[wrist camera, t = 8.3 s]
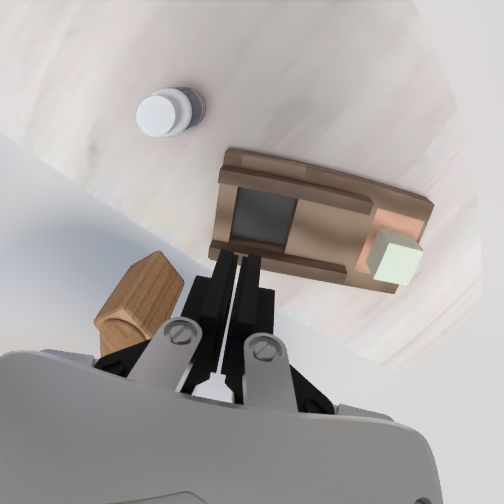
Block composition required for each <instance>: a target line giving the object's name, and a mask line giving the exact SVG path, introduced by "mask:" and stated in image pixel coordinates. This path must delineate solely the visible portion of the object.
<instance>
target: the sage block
mask: <svg viewBox="0 0 504 504" xmlns="http://www.w3.org/2000/svg"><path fill="white" fill-rule="evenodd" d="M423 253H424V251H423V249H422V248H421V247H420V245H419V244H418V243H417V241H416V240H415V239H414V237H413V236H411V235H407V234H404V233H400V232H396V231H392V230H389V229H385V228H381V227H379V229H378V232H377V235H376V237H375V240H374V242H373V245H372V247H371V250H370V252H369V254H368V257H367V259H366V263H367V266H368V268H369V270H370V273H371V275H372V277H373V279H375V280H380V281H385V282H390V283H395V284H400V285H405V286H407V285H408V284H409V282H410V280H411V278H412V276H413V274H414V272H415V270H416V268H417V266H418V264H419V262H420V259H421V257H422V255H423Z"/></svg>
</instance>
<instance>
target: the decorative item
mask: <svg viewBox="0 0 504 504" xmlns="http://www.w3.org/2000/svg"><path fill="white" fill-rule="evenodd" d="M183 286H184V280H183V279H182V277H181V276H180V275H179V274H178V272H177V271H176V270H175V269H174V267H173V266H172V265H171V263H170V262H169V261H168V260H167V258H166V257H165V256H164V254H163V253H162V252H161V251H156V252H154V253H152V254H150V255H149V256H147V257H146V258H144V259H142V260H140V261H138V262H137V263H135V264H133V265H132V266H130V268H129V269H128V271H127V272H126V274H125V275H124V276H123V278H122V279H121V281H120V282H119V284H118V285H117V286H116V288H115V289H114V291H113V292H112V294H111V295H110V297H109V298H108V300H107V301H106V303H105V304H104V306H103V307H102V309H101V310H100V312H99V313H98V315H97V316H96V318H95V320H94V325H95V327H96V328H97V329H98V330H99V331H100V350H101V357H103V356H105V355H108V354H110V353H113V352H116V351H119V350H122V349H124V348H127V347H130V346H132V345H135V344H138V343H141V342H143V341H146V340H149V339H151V338H153V337H154V335H155V334H156V332H157V331H158V329H159V328H160V326H161V325H162V324H163V323H164V322H165V321H166V320H168V319H170V317H171V314H172V312H173V310H174V307H175V305H176V302H177V300H178V298H179V296H180V293H181V291H182V289H183Z"/></svg>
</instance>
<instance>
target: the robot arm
mask: <svg viewBox="0 0 504 504" xmlns="http://www.w3.org/2000/svg"><path fill="white" fill-rule="evenodd" d="M238 257H239V255H235V254H234V251H233V250H228V249H223V248H221V250H220V253H219V256H218V259H217V263H216V266H215V269H214V272H213V275H212V278H207V277H203V276H198V275H197V276H196V278H195V280H194V282H193V285H192V288H191V290H190V293H189V295H188V298H187V301H186V303H185V305H184V308H183V311H182V313H181V316H180V317H174V318H170V319H168V320H166V321H165V322H164V323H163V324H162V325H161V326H160V328H159V329H158V331H157V332H156V334H155V335H154V337H153V338H151V339H149V340H146V341H143V342H141V343H138V344H135V345H132V346H130V347H127V348H124V349H122V350H119V351H116V352H113V353H110V354H108V355H105V356H103V357H101V358H100V359H95V358H94V356H93V355H85V354H78V353H71V352H64V351H57V350H51V349H46V350H42V351H40V352H38V351H23V350H21V351H13V352H9V353H6V354H4V355H3V356H1V357H0V504H443V500H442V492H441V486H440V481H439V476H438V471H437V467H436V463H435V459H434V456H433V454H432V451H431V448H430V446H429V444H428V442H427V440H426V439H425V438H424V437H423V436H422V435H421V434H420V433H419V432H417V431H416V430H414V429H412V428H410V427H408V426H405V425H402V424H399V423H396V422H394V420H393V419H392V418H390V417H389V416H387V415H384V414H380V413H376V412H371V411H367V410H363V409H359V408H354V407H351V406H347V405H343V404H339V405H338V406H336V405H333V404H332V403H331V401H329V399H328V398H327V397H326V396H325V395H323V394H322V393H321V392H320V391H319V390H318V389H317V388H316V387H314V386H313V385H312V384H311V383H310V382H309V381H308V380H307V379H305V378H304V377H303V376H302V375H301V374H300V373H299V372H298V371H297V370H296V369H295V368H293V367H292V366H291V365H290V364H289V360H288V355H287V349H286V347H285V344H284V343H283V342H282V341H281V340H280V339H279V338H278V337H276V336H274V335H273V326H274V301H275V291H274V290H271V289H265V288H260V287H259V277H260V268H261V258H262V256H259V255H254V254H249V255H248V257H246V256H243V258H242V263H241V268H240V273H239V278H238V283H237V288H236V293H235V298H234V303H233V308H232V313H231V318H230V323H229V328H228V334H227V340H226V345H225V351H224V357H223V363H222V369H221V374H224V375H226V379H225V384H226V385H227V386H228V387H229V388H230V389H231V390H232V403H228V402H222V401H217V400H212V399H207V398H202V397H197V396H195V393H196V391H197V388H198V384H200V383H202V382H204V381H206V380H208V379H209V378H210V373H211V372H213V373H216V371H217V366H218V361H219V357H220V352H221V347H222V342H223V337H224V333H225V328H226V323H227V318H228V313H229V308H230V303H231V297H232V291H233V286H234V280H235V274H236V268H237V263H238Z"/></svg>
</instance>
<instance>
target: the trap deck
mask: <svg viewBox="0 0 504 504" xmlns="http://www.w3.org/2000/svg"><path fill="white" fill-rule="evenodd" d="M218 183H220V189H219V196H218V203H217V210H216V218H215V225H214V233H213V240H212V242H211V244H210V247H209V254H208V258H210V260H215V261H217V259H218V256H219V253H220V250H221V248H223V249H228V250H233V251H234V254H235V255H239V257H238V263H237V265H240V266H241V263H242V258H243V256H246V257H248V255H249V254H254V255H259V256H262V258H261V268H260V269H261V270H266V271H271V272H276V273H281V274H287V275H292V276H297V277H303V278H308V279H313V280H319V281H324V282H330V283H335V284H340V285H346V286H351V287H357V288H363V289H368V290H374V291H379V292H385V293H391V294H395V292H396V290H397V288H398V286H399V284H395V283H390V282H385V281H380V280H375V279H373V277H372V275H371V273H370V270H369V268H368V266H367V263H366V259H367V257H368V254H369V252H370V250H371V247H372V245H373V242H374V240H375V237H376V235H377V232H378V229H379V227H381V228H385V229H389V230H392V231H396V232H400V233H404V234H407V235H411V236H413V237H414V239H415V240H416V241H417V243H418V244H419V241H420V239H421V237H422V234H423V232H424V230H425V227H426V225H427V222H428V220H429V218H430V215H431V212H432V210H433V207H434V204H433V203H432V202H431V201H430V200H428V199H427V198H426V197H423V196H420V195H417V194H414V193H411V192H408V191H405V190H401V189H398V188H395V187H392V186H389V185H385V184H382V183H379V182H375V181H372V180H368V179H365V178H361V177H358V176H354V175H350V174H347V173H343V172H339V171H335V170H331V169H327V168H323V167H319V166H315V165H311V164H306V163H302V162H298V161H293V160H289V159H284V158H279V157H274V156H269V155H264V154H259V153H254V152H249V151H243V150H238V149H232V148H228V149H227V151H226V152H225V156H224V163H223V166H222V167H221V169H220V172H219V179H218Z"/></svg>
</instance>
